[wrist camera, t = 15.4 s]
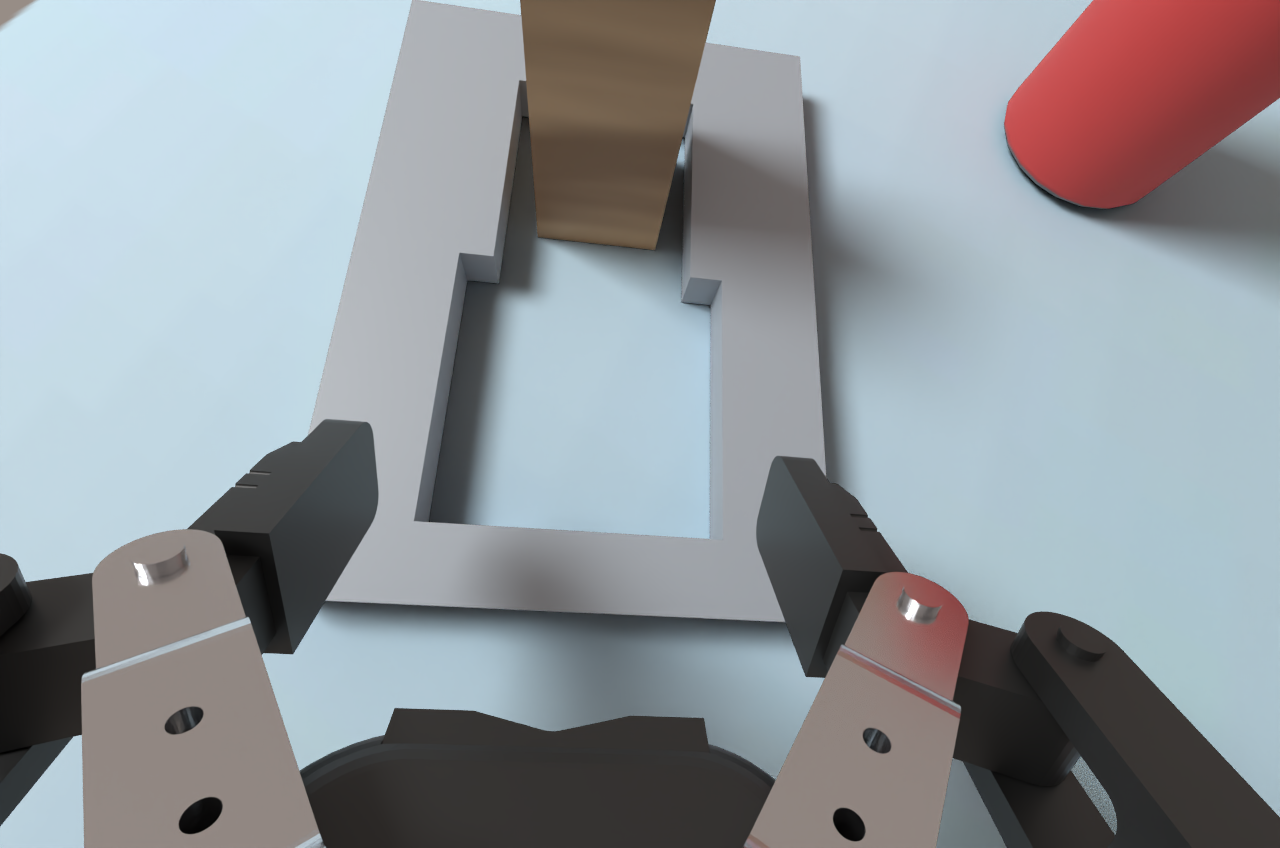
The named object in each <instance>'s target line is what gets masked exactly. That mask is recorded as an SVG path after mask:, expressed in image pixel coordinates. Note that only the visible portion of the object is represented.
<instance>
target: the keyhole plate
mask: <svg viewBox="0 0 1280 848" xmlns="http://www.w3.org/2000/svg"><path fill="white" fill-rule="evenodd" d="M522 116H524V117H529V112H528V98H527V85H526V71H525V58H524V44H523V31H522V17H521V15H515V14H509V13H502V12H495V11H488V10H482V9H475V8H468V7H461V6H455V5H448V4H441V3H434V2H428V1H421V0H412V3H411V7H410V12H409V16H408V20H407V24H406V28H405V32H404V37H403V41H402V45H401V49H400V53H399V57H398V62H397V66H396V70H395V74H394V78H393V82H392V87H391V91H390V95H389V99H388V103H387V107H386V112H385V116H384V120H383V124H382V128H381V132H380V137H379V141H378V145H377V149H376V153H375V157H374V162H373V166H372V170H371V174H370V178H369V183H368V187H367V191H366V195H365V199H364V203H363V208H362V212H361V216H360V220H359V224H358V228H357V233H356V237H355V241H354V245H353V249H352V253H351V258H350V262H349V266H348V270H347V274H346V278H345V283H344V287H343V291H342V295H341V299H340V303H339V308H338V312H337V316H336V320H335V324H334V329H333V333H332V337H331V341H330V345H329V349H328V354H327V358H326V362H325V366H324V370H323V374H322V379H321V383H320V387H319V391H318V395H317V399H316V404H315V408H314V412H313V416H312V420H311V424H310V429H309V433H308V435H309V434H310V433H311V432H312V431H313V430H314V429H315V428H316V427H317V426H318V425H319V424H320V423H321V422H322V421H323V420H325V419H336V420H348V421H361V422H368V423H369V424H370V425H371V427H372V431H373V437H374V447H375V458H376V469H377V479H378V491H379V498H378V506H377V511H376V515H375V518H374V520H373V522H372V524H371V526H370V528H369V529H368V531H367V533H366V534H365V536H364V538H363V539H362V541H361V543H360V544H359V546H358V547H357V549H356V551H355V552H354V554H353V556H352V557H351V559H350V561H349V562H348V564H347V566H346V567H345V569H344V571H343V572H342V574H341V576H340V577H339V579H338V581H337V582H336V584H335V586H334V587H333V589H332V591H331V592H330V594H329V595H328V597H327V599H326V600H325V601H336V602H357V603H379V604H401V605H422V606H444V607H465V608H487V609H508V610H530V611H551V612H573V613H595V614H616V615H638V616H659V617H681V618H702V619H724V620H746V621H767V622H785V619H784V617H783V614H782V611H781V609H780V606H779V603H778V601H777V598H776V595H775V593H774V590H773V587H772V584H771V582H770V579H769V576H768V574H767V571H766V568H765V566H764V563H763V560H762V557H761V555H760V552H759V549H758V546H757V540H756V525H757V518H758V514H759V510H760V506H761V502H762V498H763V494H764V490H765V486H766V482H767V478H768V474H769V470H770V467H771V463H772V461H773V459H774V458H775V457H776V456H788V457H801V458H812V459H814V460H815V461H816V463H817V464H818V466H819V467H820V469H821V470H822V472H823V473H824V475H825V476H826V465H825V449H824V433H823V417H822V401H821V385H820V369H819V353H818V337H817V321H816V305H815V289H814V273H813V257H812V241H811V225H810V209H809V193H808V177H807V161H806V145H805V129H804V113H803V98H802V82H801V66H800V57H799V56H793V55H786V54H779V53H772V52H765V51H759V50H752V49H745V48H738V47H732V46H725V45H718V44H711V43H705V47H704V51H703V55H702V59H701V63H700V67H699V71H698V76H697V80H696V84H695V88H694V92H693V96H692V100H691V104H690V109H689V113H688V117H687V121H686V125H685V129H684V133H683V137H685V163H684V207H683V251H682V296H681V302H686V303H695V304H705V305H711V347H710V539H700V538H683V537H667V536H650V535H634V534H617V533H601V532H584V531H568V530H551V529H534V528H518V527H501V526H485V525H468V524H452V523H435V522H429V516H430V510H431V503H432V497H433V491H434V485H435V478H436V472H437V466H438V460H439V454H440V447H441V441H442V435H443V429H444V423H445V416H446V410H447V404H448V398H449V391H450V385H451V379H452V373H453V367H454V360H455V354H456V348H457V342H458V335H459V329H460V323H461V317H462V311H463V304H464V298H465V292H466V286H467V280H469V281H479V282H489V283H499V279H500V272H501V265H502V258H503V251H504V244H505V237H506V229H507V222H508V215H509V208H510V201H511V194H512V187H513V180H514V172H515V165H516V158H517V151H518V144H519V137H520V130H521V123H522Z"/></svg>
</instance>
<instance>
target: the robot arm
mask: <svg viewBox="0 0 1280 848" xmlns="http://www.w3.org/2000/svg"><path fill="white" fill-rule="evenodd" d="M378 498H379V491H378V479H377V469H376V458H375V447H374V437H373V431H372V427H371V425H370V424H369V423H368V422H361V421H348V420H336V419H325V420H323V421H322V422H321V423H320V424H319V425H318V426H317V427H316V428H315V429H314V430H313V431H312V432H311V433H310V434H309V435H308V436H307V437H306V438H305V439H304V440H303V441H302V442H291V443H289V444H287V445H285V446H283V447H281V448H279V449H277V450H275V451H273V452H271V453H269V454H267V455H266V456H265V457H263V458H262V459H261V460H260V461H259V462H258V463H257V464H256V465H255V466H254V467H253V468H252V469H251V470H250V473H249V474H245V475H244V476H243V477H242V478H241V479H240V480H239V481H238V482H237V483H236V486H235V487H231V488H230V489H229V490H228V491H227V492H226V493H225V494H224V495H223V496H222V497H221V498H220V499H219V500H218V501H217V502H215V503H214V504H213V505H212V506H211V507H210V508H209V509H208V510H207V511H206V512H205V513H204V514H203V515H202V516H201V517H199V518H198V519H197V520H196V521H195V522H194V523H193V524H192V525H191V526H190V527H189V528H188V529H183V530H172V531H166V532H161V533H156V534H153V535H149V536H146V537H143V538H140V539H137V540H135V541H132V542H130V543H128V544H126V545H124V546H122V547H120V548H119V549H117V550H115V551H114V552H112V553H111V554H109V555H108V556H107V557H106V558H104V559H103V560H102V561H101V562H100V563H99V565H98V566H97V567H96V569H95V571H94V573H90V574H82V575H75V576H68V577H61V578H53V579H46V580H39V581H31V582H25V580H24V578H23V575H22V573H21V571H20V569H19V566H18V564H17V562H16V560H14V559H13V558H12V557H10V556H8V555H5V554H0V826H1V825H2V824H3V822H4V821H5V820H6V819H7V817H8V816H9V815H10V814H11V812H12V811H13V810H14V809H15V808H16V806H17V805H18V804H19V803H20V801H21V800H22V799H23V798H24V796H25V795H26V794H27V793H28V792H29V790H30V789H31V788H32V787H33V785H34V784H35V783H36V782H37V781H38V779H39V778H40V777H41V776H42V774H43V773H44V772H45V771H46V769H47V768H48V767H49V766H50V765H51V763H52V762H53V761H54V760H55V758H56V757H57V756H58V755H59V753H60V752H61V751H62V750H63V749H64V747H65V746H66V745H67V744H68V742H69V741H70V740H71V739H72V738H73V736H78V735H82V757H83V809H84V848H936V843H937V838H938V833H939V827H940V822H941V817H942V811H943V806H944V801H945V795H946V790H947V785H948V779H949V774H950V769H951V763H952V758H955V759H958V760H961V761H963V763H964V765H965V767H966V769H967V770H968V772H969V774H970V776H971V778H972V780H973V782H974V784H975V786H976V788H977V790H978V792H979V794H980V796H981V798H982V800H983V802H984V804H985V806H986V807H987V809H988V811H989V813H990V815H991V817H992V819H993V821H994V823H995V825H996V827H997V829H998V831H999V833H1000V835H1001V837H1002V839H1003V841H1004V842H1005V844H1006V846H1007V848H1280V817H1279V816H1278V815H1277V814H1276V813H1275V812H1274V811H1273V810H1272V809H1271V808H1270V806H1269V805H1268V804H1267V803H1266V802H1265V801H1264V800H1263V799H1262V798H1261V797H1260V796H1259V795H1258V794H1257V793H1256V792H1255V791H1254V789H1253V788H1252V787H1251V786H1250V785H1249V784H1248V783H1247V782H1246V781H1245V780H1244V779H1243V778H1242V777H1241V776H1240V775H1239V774H1238V772H1237V771H1236V770H1235V769H1234V768H1233V767H1232V766H1231V765H1230V764H1229V763H1228V762H1227V761H1226V760H1225V759H1224V758H1223V757H1222V755H1221V754H1220V753H1219V752H1218V751H1217V750H1216V749H1215V748H1214V747H1213V746H1212V745H1211V744H1210V743H1209V742H1208V741H1207V739H1206V738H1205V737H1204V736H1203V735H1202V734H1201V733H1200V732H1199V731H1198V730H1197V729H1196V728H1195V727H1194V726H1193V725H1192V724H1191V722H1190V721H1189V720H1188V719H1187V718H1186V717H1185V716H1184V715H1183V714H1182V713H1181V712H1180V711H1179V710H1178V709H1177V708H1176V707H1175V705H1174V704H1173V703H1172V702H1171V701H1170V700H1169V699H1168V698H1167V697H1166V696H1165V695H1164V694H1163V693H1162V692H1161V691H1160V690H1159V688H1158V687H1157V686H1156V685H1155V684H1154V683H1153V682H1152V681H1151V680H1150V679H1149V678H1148V677H1147V676H1146V675H1145V674H1144V673H1143V671H1142V670H1141V669H1140V668H1139V667H1138V666H1137V665H1136V664H1135V663H1134V662H1133V661H1132V660H1131V659H1130V658H1129V657H1128V655H1127V654H1126V653H1125V652H1124V651H1123V650H1122V649H1121V648H1120V647H1119V646H1118V645H1117V644H1115V643H1114V642H1113V641H1112V640H1110V639H1109V638H1108V637H1106V636H1105V635H1104V634H1102V633H1101V632H1099V631H1097V630H1096V629H1094V628H1092V627H1091V626H1089V625H1087V624H1085V623H1083V622H1081V621H1078V620H1076V619H1074V618H1071V617H1068V616H1065V615H1061V614H1058V613H1052V612H1035V613H1032V614H1030V615H1029V616H1027V618H1026V620H1025V621H1024V623H1023V625H1022V627H1021V629H1020V630H1019V632H1018V633H1015V632H1011V631H1008V630H1004V629H1001V628H997V627H994V626H990V625H986V624H983V623H979V622H976V621H973V620H970V619H968V615H967V612H966V610H965V608H964V607H963V606H962V604H961V603H960V602H959V601H958V600H957V599H956V597H954V596H953V595H952V594H951V593H950V592H948V591H947V590H946V589H944V588H943V587H941V586H940V585H938V584H936V583H934V582H932V581H930V580H928V579H926V578H923V577H921V576H917V575H914V574H910V573H908V572H907V571H906V569H905V568H904V566H903V565H902V564H901V562H900V561H899V559H898V558H897V556H896V555H895V553H894V552H893V551H892V549H891V548H890V546H889V545H888V543H887V542H886V540H885V539H884V538H883V536H882V535H881V533H880V532H877V528H876V526H875V525H874V523H873V522H872V520H871V519H870V518H868V515H867V513H866V512H865V510H864V509H863V507H862V506H861V504H860V503H859V502H858V500H857V499H856V498H855V497H854V496H852V495H851V494H850V493H848V492H847V491H846V490H844V489H843V488H842V487H841V486H839V485H838V484H834V483H829V481H828V479H827V478H826V476H825V475H824V473H823V472H822V470H821V469H820V467H819V466H818V464H817V463H816V461H815V460H814V459H812V458H801V457H788V456H776V457H775V458H774V459H773V461H772V463H771V467H770V470H769V474H768V478H767V482H766V486H765V490H764V494H763V498H762V502H761V506H760V510H759V514H758V518H757V525H756V540H757V546H758V549H759V552H760V555H761V557H762V560H763V563H764V566H765V568H766V571H767V574H768V576H769V579H770V582H771V584H772V587H773V590H774V593H775V595H776V598H777V601H778V603H779V606H780V609H781V611H782V614H783V617H784V619H785V622H786V625H787V628H788V630H789V633H790V636H791V638H792V641H793V644H794V646H795V649H796V652H797V654H798V657H799V660H800V663H801V665H802V668H803V671H804V673H805V676H806V677H822V678H825V679H824V681H823V684H822V686H821V688H820V690H819V692H818V694H817V696H816V698H815V700H814V702H813V704H812V706H811V708H810V710H809V713H808V715H807V717H806V719H805V721H804V723H803V725H802V727H801V729H800V731H799V733H798V735H797V737H796V739H795V742H794V744H793V746H792V748H791V750H790V752H789V754H788V756H787V758H786V760H785V762H784V764H783V766H782V768H781V771H780V773H779V775H778V777H777V779H776V780H775V779H773V778H772V777H771V776H770V775H769V774H767V773H766V772H764V771H763V770H761V769H760V768H758V767H757V766H756V765H754V764H753V763H751V762H749V761H747V760H745V759H743V758H742V757H740V756H738V755H736V754H734V753H731V752H729V751H727V750H724V749H722V748H719V747H716V746H713V745H710V744H708V740H707V734H706V728H705V722H704V718H681V717H650V716H628V717H623V718H618V719H614V720H609V721H604V722H600V723H595V724H590V725H585V726H581V727H576V728H571V729H566V730H562V731H555V732H554V731H544V730H541V729H537V728H533V727H530V726H526V725H523V724H519V723H516V722H512V721H508V720H505V719H501V718H498V717H494V716H491V715H487V714H483V713H480V712H476V711H465V710H434V709H403V708H395V709H394V712H393V714H392V717H391V720H390V723H389V725H388V728H387V731H386V733H385V735H383V736H379V737H374V738H371V739H367V740H364V741H361V742H358V743H355V744H352V745H349V746H347V747H344V748H342V749H340V750H337V751H335V752H332V753H330V754H328V755H327V756H325V757H323V758H321V759H319V760H317V761H315V762H313V763H311V764H310V765H308V766H306V767H305V768H303V769H302V770H300V771H299V769H298V766H297V763H296V760H295V756H294V753H293V750H292V747H291V744H290V741H289V738H288V735H287V732H286V729H285V726H284V723H283V720H282V717H281V714H280V710H279V707H278V704H277V701H276V698H275V695H274V692H273V689H272V686H271V683H270V680H269V677H268V674H267V671H266V668H265V664H264V661H263V658H262V654H263V653H277V654H293V653H294V652H295V650H296V648H297V647H298V645H299V644H300V642H301V640H302V639H303V637H304V635H305V634H306V632H307V630H308V629H309V627H310V625H311V624H312V622H313V620H314V619H315V617H316V615H317V614H318V612H319V610H320V609H321V607H322V605H323V604H324V602H325V600H326V599H327V597H328V595H329V594H330V592H331V591H332V589H333V587H334V586H335V584H336V582H337V581H338V579H339V577H340V576H341V574H342V572H343V571H344V569H345V567H346V566H347V564H348V562H349V561H350V559H351V557H352V556H353V554H354V552H355V551H356V549H357V547H358V546H359V544H360V543H361V541H362V539H363V538H364V536H365V534H366V533H367V531H368V529H369V528H370V526H371V524H372V522H373V520H374V518H375V515H376V511H377V506H378ZM1080 756H1081V757H1082V758H1083V759H1084V761H1085V762H1086V764H1087V765H1088V766H1089V768H1090V769H1091V771H1092V772H1093V773H1094V775H1095V776H1096V778H1097V779H1098V780H1099V782H1100V783H1101V785H1102V786H1103V787H1104V789H1105V790H1106V792H1107V793H1108V795H1109V797H1110V799H1111V801H1112V803H1113V806H1114V809H1115V812H1116V817H1117V832H1116V835H1114V833H1113V832H1112V830H1111V829H1110V827H1109V826H1108V824H1107V823H1106V822H1105V820H1104V819H1103V817H1102V816H1101V814H1100V813H1099V811H1098V810H1097V808H1096V807H1095V805H1094V804H1093V802H1092V801H1091V799H1090V798H1089V796H1088V795H1087V794H1086V792H1085V791H1084V789H1083V788H1082V786H1081V785H1080V783H1079V782H1078V780H1077V779H1076V777H1075V776H1074V774H1073V773H1072V771H1071V769H1072V768H1073V766H1074V765H1075V763H1076V762H1077V760H1078V759H1079V758H1080Z"/></svg>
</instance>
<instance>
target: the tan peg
mask: <svg viewBox="0 0 1280 848" xmlns="http://www.w3.org/2000/svg"><path fill="white" fill-rule="evenodd" d="M715 1H716V0H520V3H521V17H522V31H523V44H524V58H525V71H526V85H527V98H528V112H529V126H530V139H531V153H532V166H533V180H534V193H535V207H536V221H537V234H538V237H542V238H551V239H560V240H569V241H578V242H586V243H595V244H604V245H613V246H622V247H631V248H640V249H649V250H655V248H656V244H657V240H658V236H659V232H660V228H661V224H662V220H663V216H664V211H665V207H666V203H667V199H668V195H669V191H670V187H671V183H672V178H673V174H674V170H675V166H676V162H677V158H678V154H679V150H680V146H681V141H682V137H683V133H684V129H685V125H686V121H687V117H688V113H689V109H690V104H691V100H692V96H693V92H694V88H695V84H696V80H697V76H698V71H699V67H700V63H701V59H702V55H703V51H704V47H705V43H706V39H707V34H708V30H709V26H710V22H711V18H712V14H713V10H714V6H715Z"/></svg>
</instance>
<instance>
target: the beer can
mask: <svg viewBox="0 0 1280 848" xmlns="http://www.w3.org/2000/svg"><path fill="white" fill-rule="evenodd" d="M1279 98H1280V0H1093V1H1092V2H1091V4H1090V5H1089V6H1088V7H1087V8H1086V9H1085V11H1084V12H1083V13H1082V14H1081V15H1080V16H1079V18H1078V19H1077V20H1076V21H1075V22H1074V23H1073V25H1072V26H1071V27H1070V28H1069V29H1068V31H1067V32H1066V33H1065V34H1064V35H1063V36H1062V38H1061V39H1060V40H1059V41H1058V42H1057V43H1056V45H1055V46H1054V47H1053V48H1052V49H1051V50H1050V52H1049V53H1048V54H1047V55H1046V56H1045V57H1044V59H1043V60H1042V61H1041V62H1040V63H1039V64H1038V66H1037V67H1036V68H1035V69H1034V70H1033V71H1032V73H1031V74H1030V75H1029V76H1028V77H1027V79H1026V80H1025V81H1024V82H1023V83H1022V84H1021V86H1020V87H1019V88H1018V89H1017V91H1016V92H1015V93H1014V95H1013V96H1012V98H1011V99H1010V100H1009V102H1008V105H1007V110H1006V116H1005V122H1004V129H1005V134H1006V138H1007V143H1008V147H1009V149H1010V151H1011V153H1012V154H1013V156H1014V158H1015V160H1016V161H1017V163H1018V165H1019V167H1020V168H1021V169H1022V170H1023V171H1024V172H1025V173H1026V174H1027V175H1028V176H1029V177H1030V178H1031V180H1032V181H1033V182H1034V183H1035V184H1037V185H1038V186H1040V187H1041V188H1043V189H1044V190H1046V191H1047V192H1049V193H1050V194H1052V195H1053V196H1055V197H1057V198H1060V199H1062V200H1065V201H1068V202H1070V203H1073V204H1075V205H1078V206H1083V207H1091V208H1100V209H1109V208H1114V207H1119V206H1124V205H1129V204H1132V203H1135V202H1137V201H1138V200H1140V199H1141V198H1143V197H1144V196H1145V195H1147V194H1148V193H1150V192H1151V191H1153V190H1154V189H1155V188H1157V187H1158V186H1159V185H1161V184H1162V183H1164V182H1165V181H1166V180H1168V179H1169V178H1170V177H1172V176H1173V175H1175V174H1176V173H1177V172H1179V171H1180V170H1181V169H1183V168H1184V167H1186V166H1187V165H1188V164H1190V163H1191V162H1192V161H1194V160H1195V159H1196V158H1198V157H1199V156H1201V155H1202V154H1203V153H1205V152H1206V151H1207V150H1209V149H1210V148H1212V147H1213V146H1214V145H1216V144H1217V143H1218V142H1220V141H1221V140H1223V139H1224V138H1225V137H1227V136H1228V135H1229V134H1231V133H1232V132H1234V131H1235V130H1236V129H1238V128H1239V127H1240V126H1242V125H1243V124H1245V123H1246V122H1247V121H1249V120H1250V119H1251V118H1253V117H1254V116H1256V115H1257V114H1258V113H1260V112H1261V111H1262V110H1264V109H1265V108H1266V107H1268V106H1269V105H1271V104H1272V103H1273V102H1275V101H1276V100H1277V99H1279Z"/></svg>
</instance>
